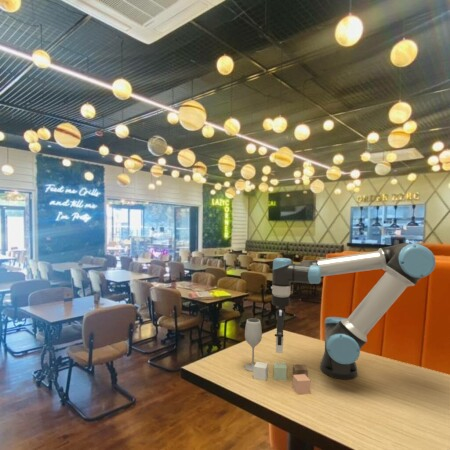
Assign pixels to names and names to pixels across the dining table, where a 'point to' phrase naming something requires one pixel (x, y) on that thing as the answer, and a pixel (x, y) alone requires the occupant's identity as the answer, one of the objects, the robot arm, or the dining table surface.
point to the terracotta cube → (301, 384)
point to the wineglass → (252, 337)
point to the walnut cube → (299, 369)
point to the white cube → (260, 371)
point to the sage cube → (280, 371)
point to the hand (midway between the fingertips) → (279, 346)
